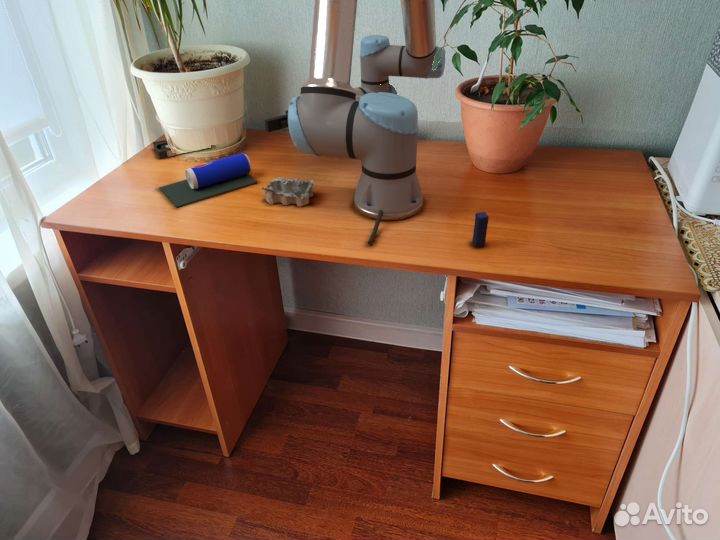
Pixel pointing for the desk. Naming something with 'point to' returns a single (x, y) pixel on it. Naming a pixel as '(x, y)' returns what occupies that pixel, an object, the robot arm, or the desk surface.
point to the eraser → (480, 229)
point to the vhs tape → (163, 149)
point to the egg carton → (289, 191)
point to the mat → (203, 190)
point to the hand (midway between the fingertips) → (266, 126)
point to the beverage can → (218, 171)
